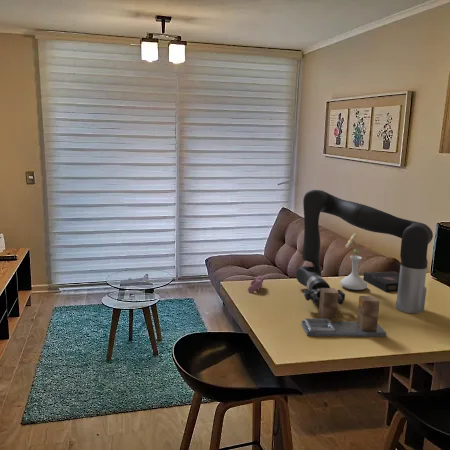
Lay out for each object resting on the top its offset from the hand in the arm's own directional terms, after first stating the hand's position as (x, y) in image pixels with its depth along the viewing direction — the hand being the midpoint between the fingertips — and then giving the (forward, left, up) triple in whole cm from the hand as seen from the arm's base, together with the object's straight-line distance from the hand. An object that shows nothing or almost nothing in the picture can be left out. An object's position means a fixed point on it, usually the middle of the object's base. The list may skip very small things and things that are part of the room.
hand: (329, 302), depth 165 cm
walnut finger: (0, -1, -6) cm, 6 cm away
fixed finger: (-10, +11, -5) cm, 15 cm away
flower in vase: (-20, -34, -6) cm, 40 cm away
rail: (-2, +11, -6) cm, 13 cm away
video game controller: (+22, -30, -6) cm, 38 cm away
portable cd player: (-39, -40, -7) cm, 56 cm away
